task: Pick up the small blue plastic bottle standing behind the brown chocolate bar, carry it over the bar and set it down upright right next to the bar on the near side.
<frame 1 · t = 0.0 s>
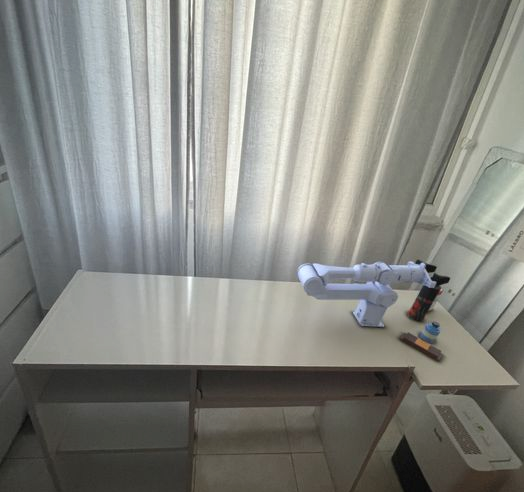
hand: (441, 274, 111), 22 cm above the table, tool horizontal, fingers open, 7 cm apart
snack bar: (420, 347, 110), on the table
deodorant: (414, 317, 127), on the table
ink box: (423, 309, 133), on the table
bottle: (427, 338, 115), on the table
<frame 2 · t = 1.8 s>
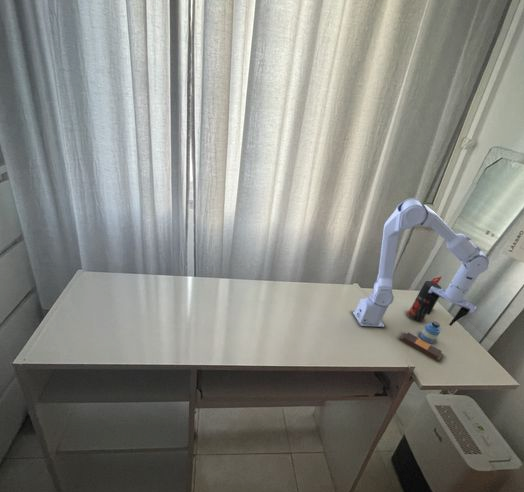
hand: (439, 318, 110), 9 cm above the table, tool pointing down, fingers open, 7 cm apart
nothing on the table moved.
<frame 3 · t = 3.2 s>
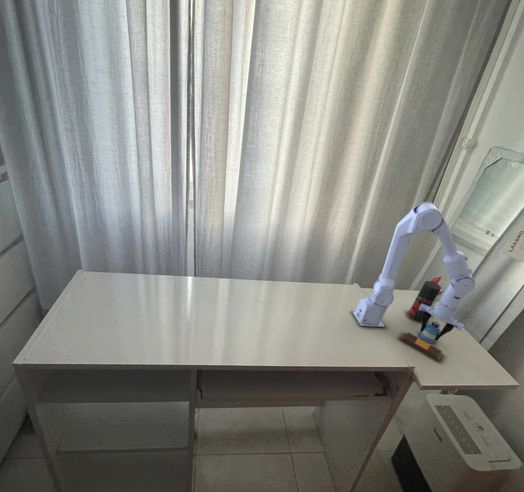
hand: (429, 334, 115), 2 cm above the table, tool pointing down, fingers closed on bottle, 5 cm apart
bottle: (427, 338, 115), on the table, touching gripper
everything else where it was.
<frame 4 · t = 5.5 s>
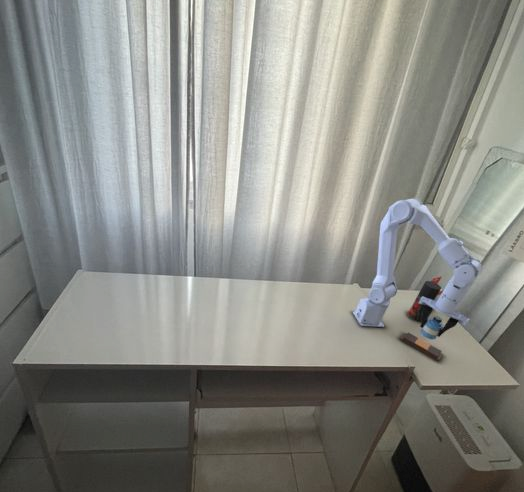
hand: (430, 330, 104), 9 cm above the table, tool pointing down, fingers closed on bottle, 5 cm apart
bottle: (428, 334, 105), point 7 cm above the table, touching gripper
everything else where it was.
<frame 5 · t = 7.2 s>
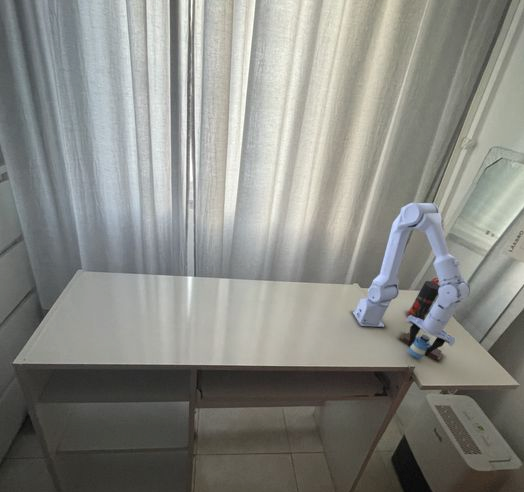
hand: (418, 349, 103), 3 cm above the table, tool pointing down, fingers closed on bottle, 5 cm apart
bottle: (415, 353, 104), point 1 cm above the table, touching gripper
everything else where it was.
when the fingers open (2 cm above the table, at t = 8.2 s): bottle stays where it is, on the table.
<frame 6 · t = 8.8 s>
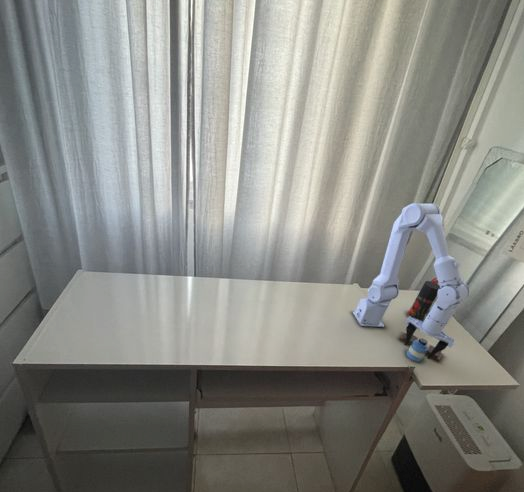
hand: (417, 350, 104), 2 cm above the table, tool pointing down, fingers open, 7 cm apart
bottle: (413, 356, 105), on the table
everything else where it was.
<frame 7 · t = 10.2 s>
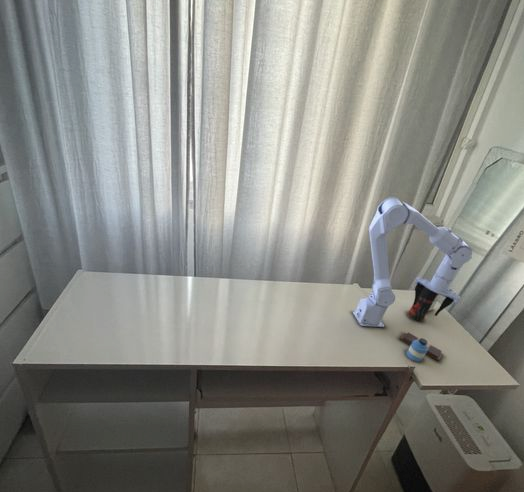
hand: (425, 309, 112), 10 cm above the table, tool pointing down, fingers open, 7 cm apart
nothing on the table moved.
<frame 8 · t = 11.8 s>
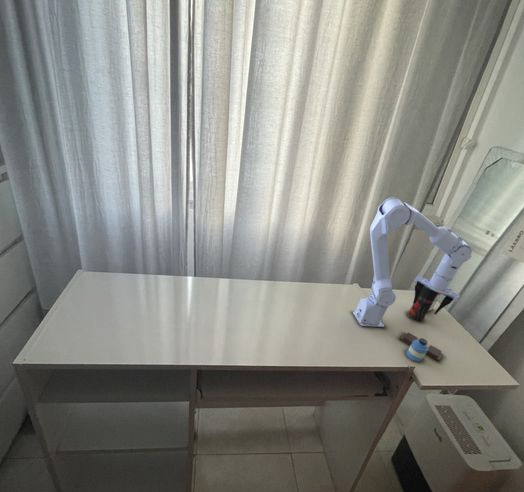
hand: (425, 307, 113), 10 cm above the table, tool pointing down, fingers open, 7 cm apart
nothing on the table moved.
at the end: bottle inside the target area on the table beside the snack bar (0.6 cm from its centre), on the table; bottle tilted 0°; snack bar moved 0.0 cm from its start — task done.
